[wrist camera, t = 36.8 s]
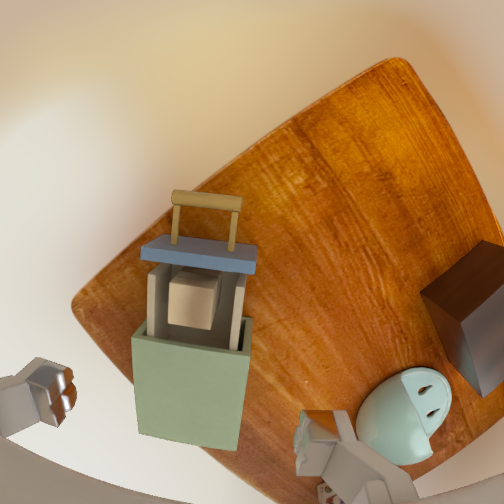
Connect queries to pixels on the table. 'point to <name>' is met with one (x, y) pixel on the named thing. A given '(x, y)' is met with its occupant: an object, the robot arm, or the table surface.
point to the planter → (404, 415)
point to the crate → (472, 315)
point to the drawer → (202, 256)
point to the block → (194, 297)
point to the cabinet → (190, 389)
